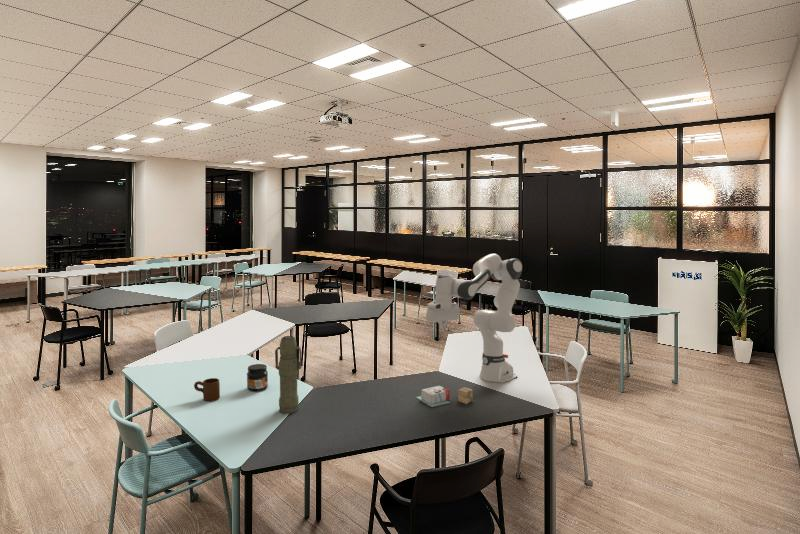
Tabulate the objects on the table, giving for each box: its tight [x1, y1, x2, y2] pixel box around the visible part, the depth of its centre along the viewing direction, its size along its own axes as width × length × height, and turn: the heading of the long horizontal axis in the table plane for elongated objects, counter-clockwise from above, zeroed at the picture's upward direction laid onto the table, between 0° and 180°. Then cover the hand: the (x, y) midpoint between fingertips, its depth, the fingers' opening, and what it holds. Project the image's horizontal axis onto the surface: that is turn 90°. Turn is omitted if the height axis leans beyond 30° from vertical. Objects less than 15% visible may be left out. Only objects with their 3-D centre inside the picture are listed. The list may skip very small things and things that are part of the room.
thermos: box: [274, 335, 302, 415], centre depth 213 cm, size 9×12×35 cm
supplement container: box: [246, 363, 269, 393], centre depth 241 cm, size 10×10×12 cm
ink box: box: [420, 385, 451, 404], centre depth 229 cm, size 9×5×12 cm
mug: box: [193, 377, 221, 403], centre depth 226 cm, size 12×8×9 cm, turn 96°
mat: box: [415, 395, 451, 408], centre depth 229 cm, size 11×14×1 cm
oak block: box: [457, 386, 473, 405], centre depth 228 cm, size 5×5×6 cm
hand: (442, 329), depth 248 cm, fingers closed
